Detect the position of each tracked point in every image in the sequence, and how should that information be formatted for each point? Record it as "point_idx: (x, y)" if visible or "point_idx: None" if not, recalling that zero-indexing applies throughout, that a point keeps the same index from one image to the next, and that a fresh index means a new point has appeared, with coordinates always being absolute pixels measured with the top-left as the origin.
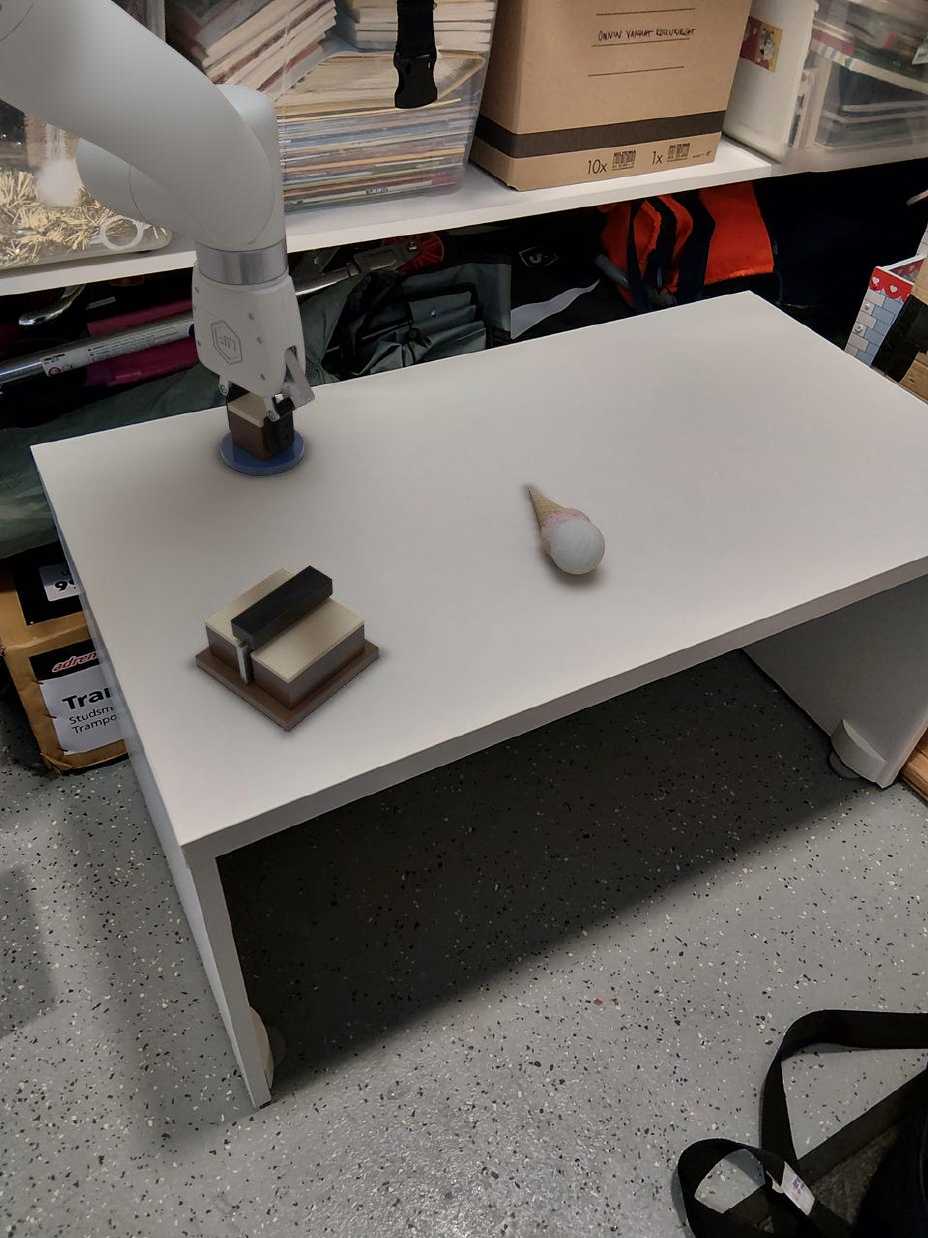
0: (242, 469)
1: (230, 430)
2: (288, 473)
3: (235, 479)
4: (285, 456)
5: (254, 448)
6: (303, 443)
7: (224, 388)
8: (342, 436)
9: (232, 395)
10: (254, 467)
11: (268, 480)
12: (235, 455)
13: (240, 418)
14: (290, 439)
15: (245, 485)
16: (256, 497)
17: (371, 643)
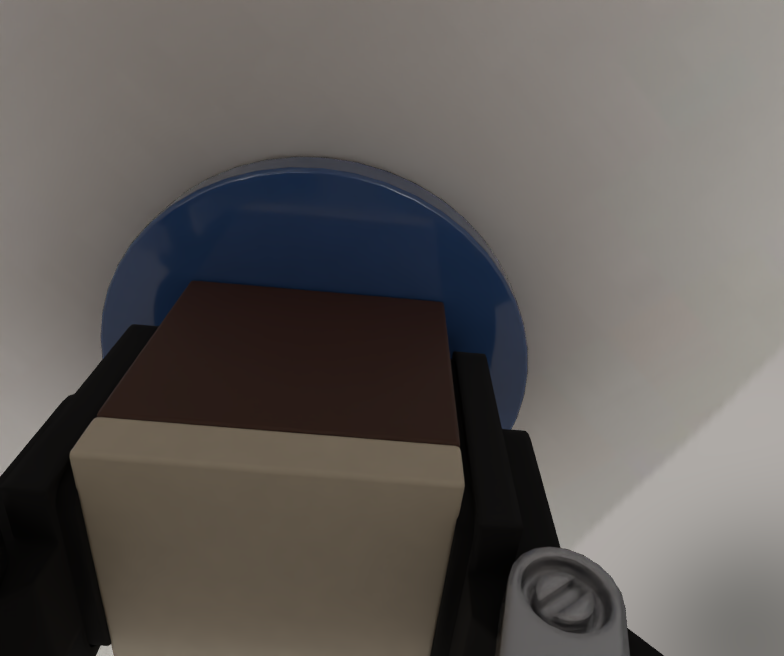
0: (248, 168)
1: (477, 354)
2: (92, 298)
3: (240, 89)
4: None
5: (243, 309)
6: None
7: (562, 601)
8: None
9: (490, 568)
10: (182, 208)
11: (107, 196)
12: (352, 230)
13: (323, 421)
14: None
15: (153, 81)
16: (13, 29)
17: None
